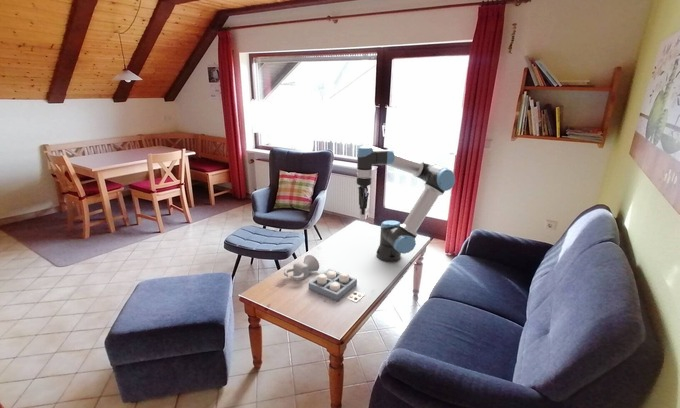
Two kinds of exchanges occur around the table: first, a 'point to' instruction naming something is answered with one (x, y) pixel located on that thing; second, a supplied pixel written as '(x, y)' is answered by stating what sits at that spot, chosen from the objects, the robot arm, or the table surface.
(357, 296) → the card
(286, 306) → the table surface
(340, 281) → the button
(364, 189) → the robot arm
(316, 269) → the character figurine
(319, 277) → the button
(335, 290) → the button
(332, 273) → the button
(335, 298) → the button board
